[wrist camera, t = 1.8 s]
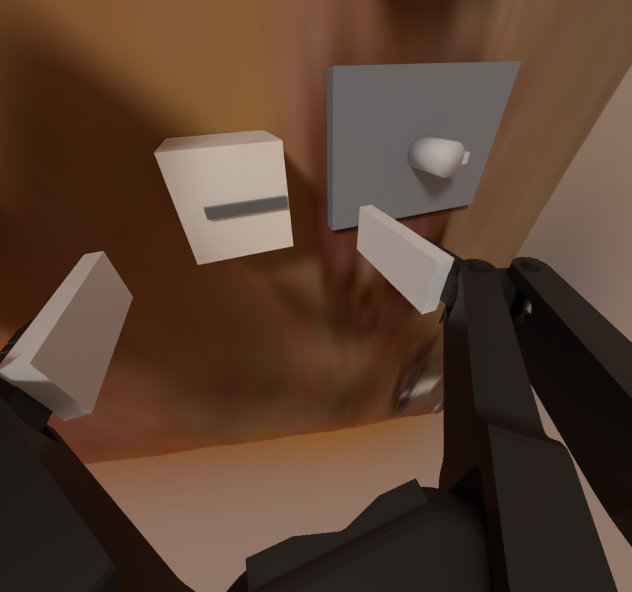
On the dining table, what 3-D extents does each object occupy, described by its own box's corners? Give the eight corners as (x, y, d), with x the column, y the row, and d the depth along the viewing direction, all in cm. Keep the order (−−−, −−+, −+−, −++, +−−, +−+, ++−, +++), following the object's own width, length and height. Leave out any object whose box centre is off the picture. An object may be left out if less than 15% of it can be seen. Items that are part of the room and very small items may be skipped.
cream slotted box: (198, 230, 26) (197, 267, 20) (166, 138, 20) (152, 153, 15) (276, 217, 27) (294, 247, 22) (263, 129, 22) (283, 141, 17)
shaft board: (327, 225, 30) (349, 248, 26) (326, 67, 21) (359, 60, 17) (463, 200, 35) (501, 216, 30) (507, 62, 26) (570, 55, 21)
